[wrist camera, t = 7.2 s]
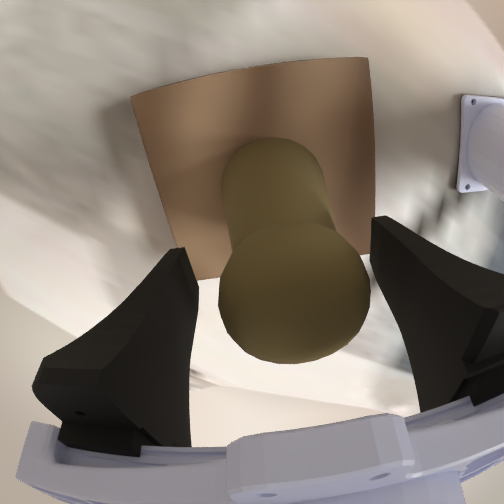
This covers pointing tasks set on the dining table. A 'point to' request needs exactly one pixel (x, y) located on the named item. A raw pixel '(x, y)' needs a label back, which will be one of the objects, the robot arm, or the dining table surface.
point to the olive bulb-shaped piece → (287, 258)
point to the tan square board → (254, 128)
